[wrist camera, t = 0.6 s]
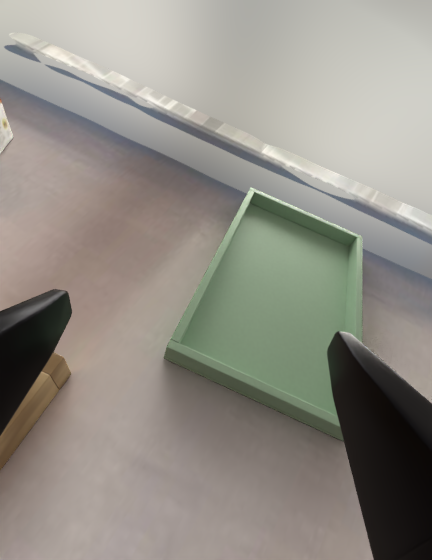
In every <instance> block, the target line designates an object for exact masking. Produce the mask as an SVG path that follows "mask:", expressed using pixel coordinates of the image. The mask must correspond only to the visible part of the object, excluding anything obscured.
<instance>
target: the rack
mask: <svg viewBox="0 0 432 560" xmlns="http://www.w3.org/2000/svg"><path fill="white" fill-rule="evenodd" d="M70 375H71V372H70V370H69V367H68V365H67V363H66V361H65V359H64V357H62V356H60V355H58V354H56V353H54V352H53V354H52V356H51V357H50V359H49V361H48V362H47V364H46V365H45V367H44V369H43V370H42V372H41V373H40V375H39V376H38V378H37V379H36V381H35V383H34V384H33V386H32V387H31V389H30V390H29V392H28V394H27V395H26V397H25V398H24V400H23V401H22V403H21V405H20V406H19V408H18V409H17V411H16V412H15V414H14V415H13V417H12V419H11V420H10V422H9V423H8V425H7V426H6V428H5V430H4V431H3V433H2V434H1V436H0V470H1V469H2V468H3V466H4V465H5V464H6V462H7V461H8V459H9V458H10V457H11V455H12V454H13V453H14V451H15V450H16V449H17V447H18V446H19V444H20V443H21V442H22V440H23V439H24V438H25V436H26V435H27V434H28V432H29V431H30V429H31V428H32V427H33V425H34V424H35V423H36V421H37V420H38V418H39V417H40V416H41V414H42V413H43V412H44V410H45V409H46V408H47V406H48V405H49V403H50V402H51V401H52V399H53V398H54V397H55V395H56V394H57V393H58V391H59V390H60V389H61V387H62V386H63V384H64V383H65V382H66V380H67V379H68V378H69V376H70Z"/></svg>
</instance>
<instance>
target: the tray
mask: <svg viewBox="0 0 432 560" xmlns="http://www.w3.org/2000/svg"><path fill="white" fill-rule="evenodd" d="M337 331H342V332H349V333H351V334H352V335H353V336H354V337H355V338H357V339H358V340H359V341H360V342H361V343H362V236H360V235H358V234H355V233H353V232H351V231H349V230H346V229H344V228H342V227H339V226H337V225H335V224H333V223H331V222H328V221H326V220H324V219H321V218H319V217H317V216H315V215H312V214H310V213H308V212H306V211H303V210H301V209H299V208H296V207H294V206H292V205H290V204H287V203H285V202H283V201H281V200H278V199H276V198H274V197H272V196H269V195H267V194H265V193H262V192H260V191H258V190H256V189H253V188H250V190H249V192H248V193H247V195H246V197H245V199H244V201H243V203H242V205H241V207H240V209H239V210H238V212H237V214H236V216H235V218H234V220H233V222H232V224H231V226H230V227H229V229H228V231H227V233H226V235H225V237H224V239H223V241H222V243H221V245H220V246H219V248H218V250H217V252H216V254H215V256H214V258H213V260H212V262H211V264H210V265H209V267H208V269H207V271H206V273H205V275H204V277H203V279H202V281H201V283H200V284H199V286H198V288H197V290H196V292H195V294H194V296H193V298H192V300H191V301H190V303H189V305H188V307H187V309H186V311H185V313H184V315H183V317H182V319H181V320H180V322H179V324H178V326H177V328H176V330H175V332H174V334H173V336H172V338H171V340H170V341H169V343H168V345H167V348H166V351H165V355H164V359H167V360H169V361H171V362H173V363H175V364H177V365H179V366H182V367H184V368H186V369H188V370H190V371H192V372H195V373H197V374H199V375H201V376H203V377H205V378H208V379H210V380H212V381H214V382H216V383H218V384H220V385H223V386H225V387H227V388H229V389H231V390H233V391H236V392H238V393H240V394H242V395H244V396H246V397H249V398H251V399H253V400H255V401H257V402H259V403H261V404H264V405H266V406H268V407H270V408H272V409H274V410H277V411H279V412H281V413H283V414H285V415H287V416H290V417H292V418H294V419H296V420H298V421H300V422H303V423H305V424H307V425H309V426H311V427H313V428H315V429H318V430H320V431H322V432H324V433H326V434H328V435H331V436H333V437H335V438H337V439H339V440H341V441H344V440H343V436H342V432H341V428H340V424H339V420H338V416H337V412H336V408H335V404H334V400H333V394H332V388H331V381H330V373H329V366H328V359H327V349H328V347H329V345H330V342H331V340H332V338H333V336H334V334H335V333H336V332H337Z"/></svg>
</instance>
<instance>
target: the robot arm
mask: <svg viewBox="0 0 432 560" xmlns="http://www.w3.org/2000/svg"><path fill="white" fill-rule="evenodd" d="M71 314H72V309H71V304H70V299H69V294H68V292H67V291H64V290H57V289H53V290H51V291H48V292H46V293H43V294H41V295H39V296H36V297H34V298H31V299H29V300H27V301H24V302H22V303H19V304H17V305H14V306H12V307H10V308H7V309H5V310H2V311H0V436H1V434H2V433H3V431H4V430H5V428H6V426H7V425H8V423H9V422H10V420H11V419H12V417H13V415H14V414H15V412H16V411H17V409H18V408H19V406H20V405H21V403H22V401H23V400H24V398H25V397H26V395H27V394H28V392H29V390H30V389H31V387H32V386H33V384H34V383H35V381H36V379H37V378H38V376H39V375H40V373H41V372H42V370H43V369H44V367H45V365H46V364H47V362H48V361H49V359H50V357H51V356H52V354H53V352H54V350H55V348H56V346H57V344H58V342H59V340H60V338H61V336H62V334H63V332H64V330H65V328H66V326H67V324H68V321H69V319H70V317H71ZM327 359H328V366H329V373H330V381H331V388H332V394H333V400H334V404H335V408H336V412H337V416H338V420H339V424H340V428H341V432H342V436H343V440H344V444H345V448H346V452H347V456H348V460H349V463H350V467H351V471H352V475H353V479H354V483H355V487H356V491H357V495H358V499H359V503H360V507H361V511H362V515H363V519H364V523H365V527H366V531H367V535H368V539H369V543H370V547H371V551H372V554H373V558H374V560H432V403H430V402H429V401H428V400H427V399H426V398H425V397H423V396H422V395H421V394H420V393H419V392H418V391H417V390H415V389H414V388H413V387H412V386H411V385H410V384H408V383H407V382H406V381H405V380H404V379H403V378H402V377H400V376H399V375H398V374H397V373H396V372H395V371H394V370H392V369H391V368H390V367H389V366H388V365H387V364H385V363H384V362H383V361H382V360H381V359H380V358H379V357H377V356H376V355H375V354H374V353H373V352H372V351H370V350H369V349H368V348H367V347H366V346H365V345H364V344H362V343H361V342H360V341H359V340H358V339H357V338H355V337H354V336H353V335H352V334H351V333H349V332H342V331H337V332H336V333H335V334H334V336H333V338H332V340H331V342H330V345H329V347H328V349H327Z"/></svg>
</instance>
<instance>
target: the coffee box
mask: <svg viewBox="0 0 432 560" xmlns="http://www.w3.org/2000/svg"><path fill="white" fill-rule="evenodd" d="M12 138H13V135H12V132H11V130H10V126H9V124H8V121H7V118H6V115H5V111H4V108H3V105H2V102H1V99H0V153H1V152H2V151H3V149H4V148H5V147H6V146H7V144H8V143H9V142H10V141H11V140H12Z"/></svg>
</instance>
